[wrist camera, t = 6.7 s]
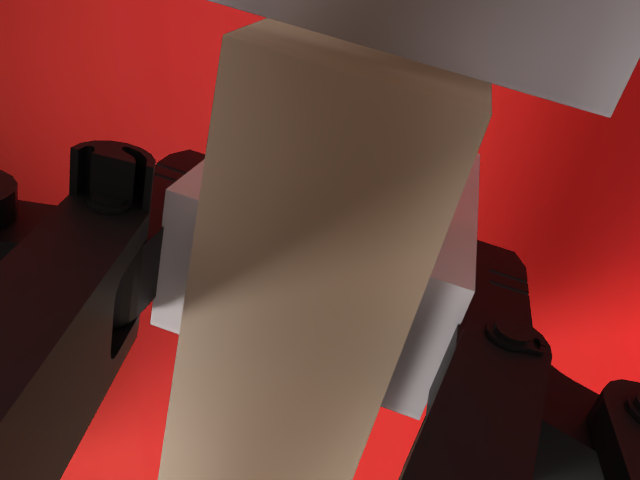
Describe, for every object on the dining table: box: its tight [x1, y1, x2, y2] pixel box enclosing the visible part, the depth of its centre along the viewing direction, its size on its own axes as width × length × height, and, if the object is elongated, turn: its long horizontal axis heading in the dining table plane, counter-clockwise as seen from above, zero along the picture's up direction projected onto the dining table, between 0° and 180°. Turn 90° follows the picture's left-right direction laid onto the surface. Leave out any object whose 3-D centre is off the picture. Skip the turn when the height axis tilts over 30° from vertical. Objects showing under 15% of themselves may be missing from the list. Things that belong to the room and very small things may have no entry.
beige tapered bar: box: [158, 0, 640, 480], centre depth 11 cm, size 7×24×3 cm, turn 167°
